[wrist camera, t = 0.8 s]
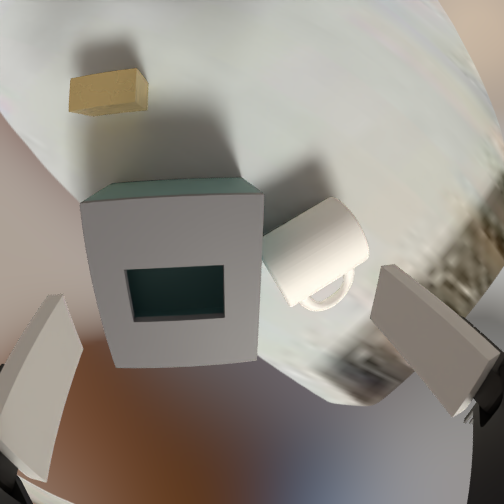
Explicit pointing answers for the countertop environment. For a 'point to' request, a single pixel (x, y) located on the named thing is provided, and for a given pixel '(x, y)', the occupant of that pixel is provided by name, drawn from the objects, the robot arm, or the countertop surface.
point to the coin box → (177, 270)
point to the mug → (315, 253)
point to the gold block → (109, 93)
